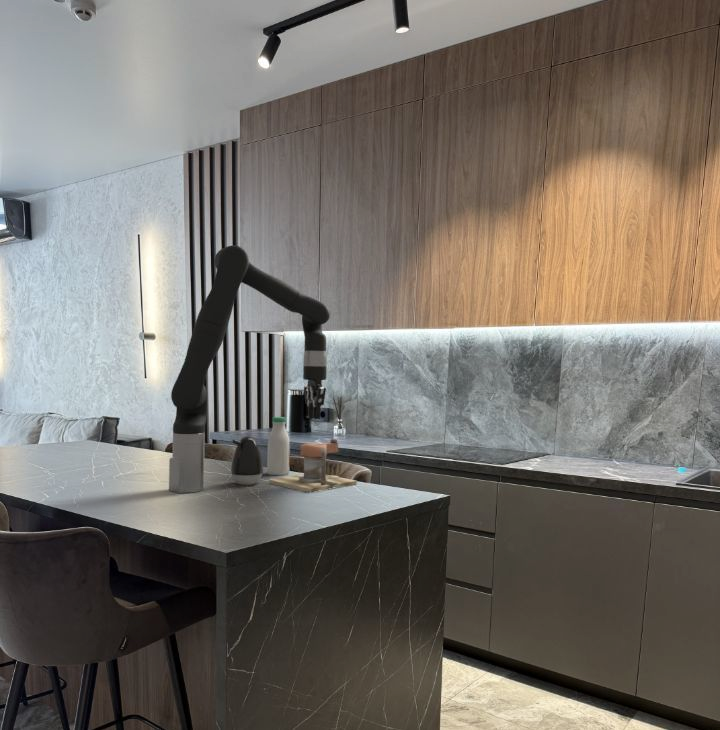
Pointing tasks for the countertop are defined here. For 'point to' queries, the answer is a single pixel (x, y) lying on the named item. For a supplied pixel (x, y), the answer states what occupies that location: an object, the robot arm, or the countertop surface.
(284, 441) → the milk bottle
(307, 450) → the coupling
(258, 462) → the pump dispenser
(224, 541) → the countertop surface
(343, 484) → the post board
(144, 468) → the countertop surface
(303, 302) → the robot arm
